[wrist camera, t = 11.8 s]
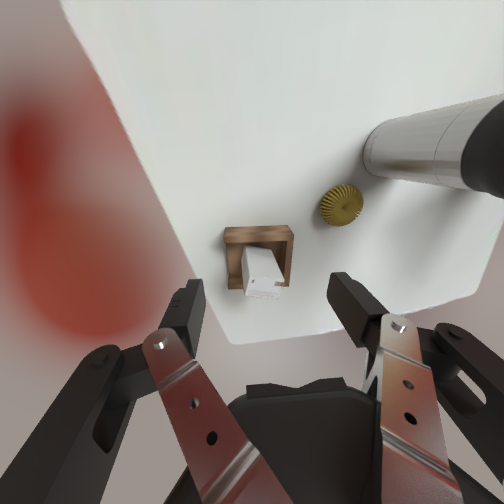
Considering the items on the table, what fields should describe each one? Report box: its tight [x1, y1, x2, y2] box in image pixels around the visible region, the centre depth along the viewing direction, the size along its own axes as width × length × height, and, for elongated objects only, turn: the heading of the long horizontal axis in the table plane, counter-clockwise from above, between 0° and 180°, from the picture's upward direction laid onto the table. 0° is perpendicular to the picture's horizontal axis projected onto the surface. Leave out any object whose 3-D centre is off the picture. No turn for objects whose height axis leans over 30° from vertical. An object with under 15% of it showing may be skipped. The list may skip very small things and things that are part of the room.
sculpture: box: [320, 185, 363, 226], centre depth 37 cm, size 8×4×8 cm
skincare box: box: [241, 245, 285, 299], centre depth 36 cm, size 6×4×12 cm
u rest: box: [224, 225, 294, 290], centre depth 40 cm, size 13×12×5 cm
